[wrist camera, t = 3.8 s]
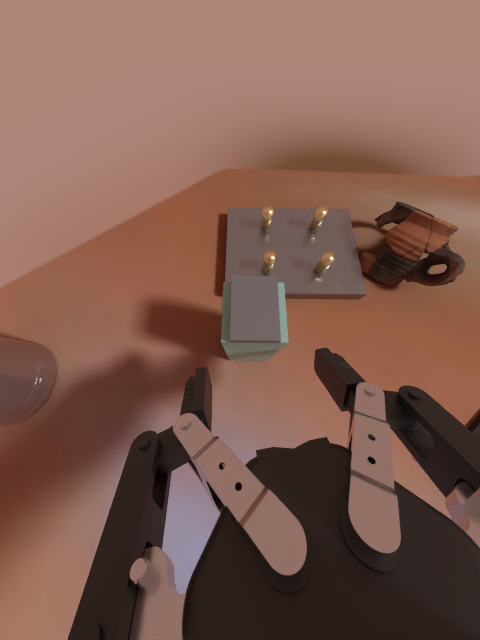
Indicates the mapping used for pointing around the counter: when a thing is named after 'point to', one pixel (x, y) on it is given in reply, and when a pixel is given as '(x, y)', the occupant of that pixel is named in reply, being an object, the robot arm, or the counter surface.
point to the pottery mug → (413, 249)
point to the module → (253, 317)
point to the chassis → (296, 250)
